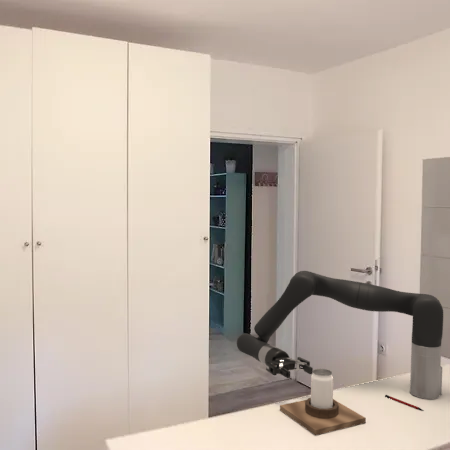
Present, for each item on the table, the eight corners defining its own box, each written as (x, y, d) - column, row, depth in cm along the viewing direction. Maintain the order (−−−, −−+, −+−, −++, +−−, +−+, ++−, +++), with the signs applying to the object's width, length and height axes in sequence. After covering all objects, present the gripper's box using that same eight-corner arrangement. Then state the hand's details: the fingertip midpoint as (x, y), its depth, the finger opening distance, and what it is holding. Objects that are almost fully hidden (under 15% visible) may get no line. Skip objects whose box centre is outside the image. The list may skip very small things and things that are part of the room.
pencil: (423, 412, 152) (423, 409, 152) (384, 397, 164) (384, 394, 164) (425, 412, 153) (425, 408, 153) (386, 397, 164) (386, 394, 164)
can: (331, 407, 151) (332, 368, 151) (333, 416, 145) (334, 376, 144) (310, 405, 152) (310, 367, 151) (311, 415, 146) (311, 375, 145)
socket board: (326, 399, 161) (327, 387, 160) (365, 422, 144) (365, 409, 144) (279, 410, 153) (280, 397, 152) (315, 435, 136) (315, 421, 136)
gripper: (256, 350, 169) (282, 364, 154) (290, 344, 175) (319, 358, 161) (255, 371, 169) (281, 388, 155) (290, 365, 176) (318, 381, 161)
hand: (300, 373), depth 158 cm, fingers open, 8 cm apart
